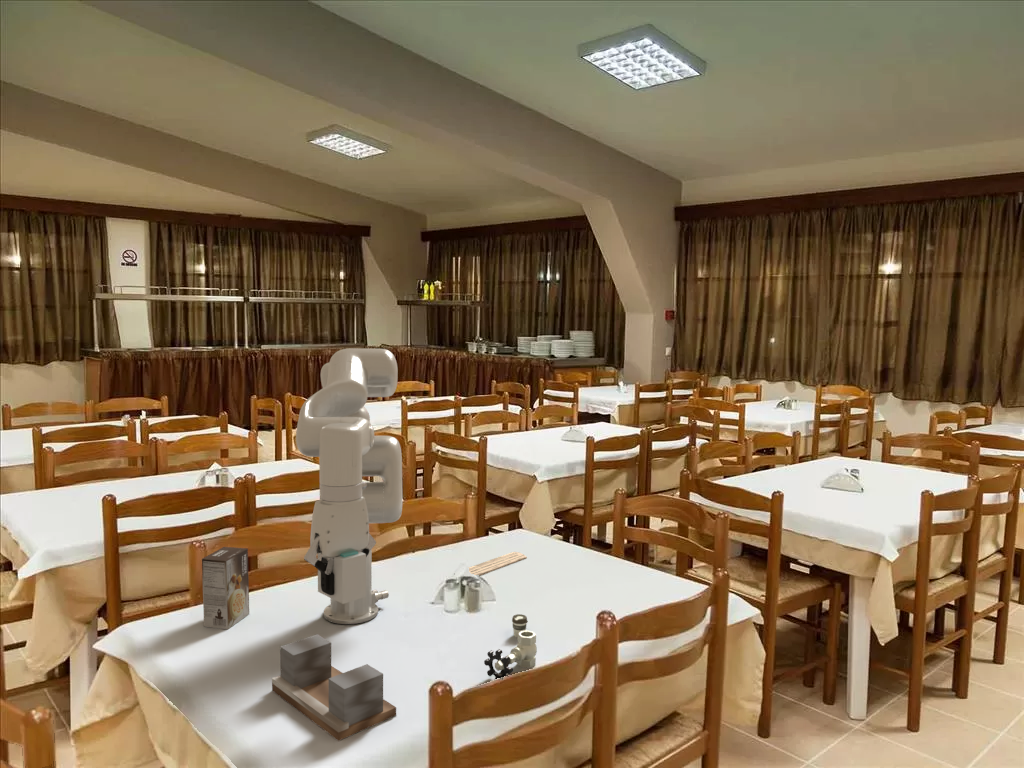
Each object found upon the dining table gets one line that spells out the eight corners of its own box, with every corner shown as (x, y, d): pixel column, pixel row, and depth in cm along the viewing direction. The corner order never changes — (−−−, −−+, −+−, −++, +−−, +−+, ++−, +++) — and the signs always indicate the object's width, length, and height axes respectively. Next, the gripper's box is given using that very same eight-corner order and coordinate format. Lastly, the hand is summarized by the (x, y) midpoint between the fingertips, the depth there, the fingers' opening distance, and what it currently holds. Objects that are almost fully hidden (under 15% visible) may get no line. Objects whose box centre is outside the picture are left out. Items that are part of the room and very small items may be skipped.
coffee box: (225, 611, 184) (224, 545, 183) (250, 614, 183) (249, 547, 181) (202, 627, 175) (201, 558, 174) (228, 630, 174) (227, 560, 172)
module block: (341, 584, 147) (340, 541, 146) (365, 596, 142) (365, 551, 141) (317, 591, 144) (317, 547, 143) (342, 603, 138) (342, 557, 137)
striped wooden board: (470, 581, 208) (470, 575, 208) (452, 575, 213) (452, 569, 213) (526, 560, 226) (527, 554, 226) (508, 555, 231) (508, 549, 231)
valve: (519, 656, 164) (483, 677, 155) (519, 626, 164) (484, 646, 154) (545, 665, 160) (510, 688, 151) (545, 635, 160) (510, 655, 150)
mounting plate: (327, 670, 156) (327, 629, 155) (396, 715, 140) (396, 670, 139) (272, 690, 148) (271, 648, 147) (338, 740, 132) (338, 693, 131)
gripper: (367, 481, 149) (367, 573, 151) (287, 496, 137) (288, 595, 139) (391, 488, 144) (391, 583, 146) (310, 504, 132) (311, 607, 134)
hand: (341, 588), depth 143 cm, fingers closed on module block, 5 cm apart
